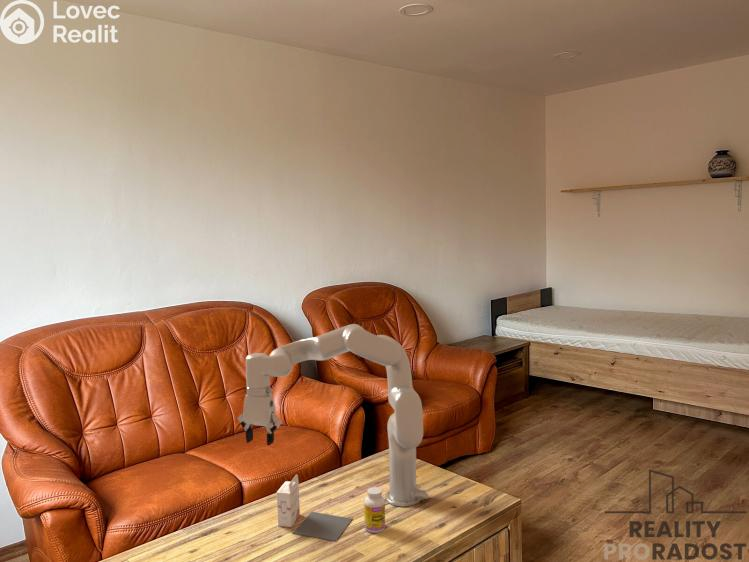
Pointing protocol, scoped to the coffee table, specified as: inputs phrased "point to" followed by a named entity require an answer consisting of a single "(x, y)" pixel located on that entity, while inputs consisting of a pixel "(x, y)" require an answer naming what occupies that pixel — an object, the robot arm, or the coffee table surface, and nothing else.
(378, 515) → the supplement bottle
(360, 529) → the coffee table surface
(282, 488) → the ink cartridge box
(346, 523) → the mat
